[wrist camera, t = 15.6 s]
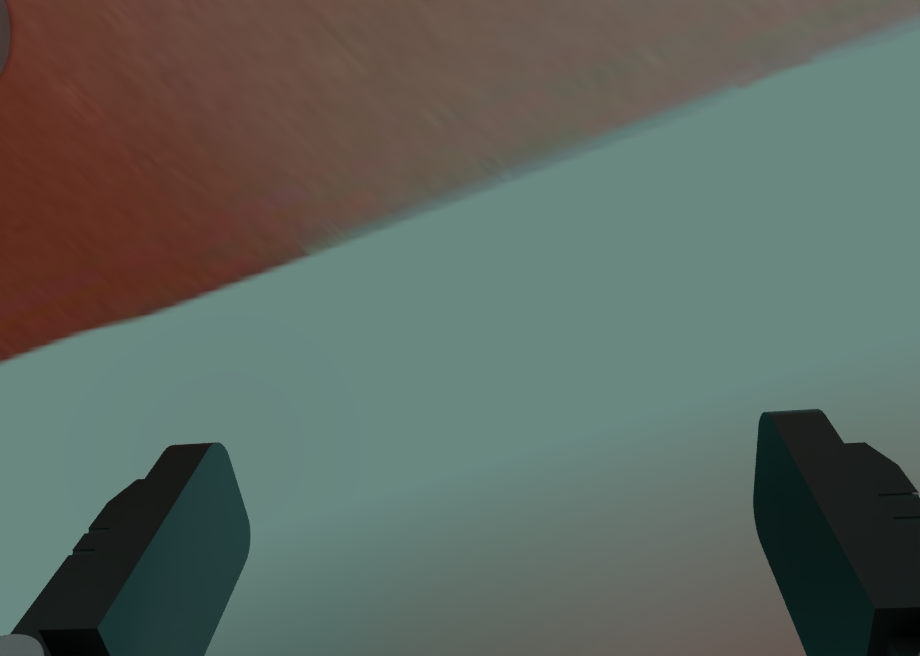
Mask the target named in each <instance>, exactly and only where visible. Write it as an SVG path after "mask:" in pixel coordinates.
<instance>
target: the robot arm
mask: <svg viewBox="0 0 920 656" xmlns="http://www.w3.org/2000/svg"><path fill="white" fill-rule="evenodd" d="M10 38H11V35H10V23H9V14H8V10H7V7H6V3H5V0H0V75H1V73H2V71H3V68H4V66H5V63H6V61H7V58H8V53H9V46H10ZM753 508H754V518H755V523H756V529H757V533H758V537H759V540H760V543H761V545H762V548H763V550H764V553H765V555H766V558H767V560H768V562H769V565H770V567H771V569H772V572H773V575H774V577H775V579H776V582H777V584H778V587H779V589H780V592H781V594H782V596H783V599H784V601H785V604H786V606H787V609H788V611H789V613H790V616H791V618H792V621H793V623H794V626H795V628H796V631H797V633H798V635H799V638H800V640H801V643H802V645H803V647H804V650H805V652H806V655H807V656H920V498H919V496H918V491H917V490H916V489H915V487H914V486H913V485H912V483H911V482H910V480H909V479H908V478H907V476H906V475H905V474H904V472H903V471H902V470H901V468H900V467H899V466H898V465H897V464H896V463H894V462H893V461H891V460H890V459H888V458H887V457H885V456H884V455H882V454H881V453H880V452H878V451H877V450H875V449H873V448H872V447H871V446H869V445H868V444H866V443H865V442H864V443H845V444H844V443H843V441H842V440H841V438H840V437H839V435H838V434H837V432H836V430H835V429H834V427H833V426H832V425H831V423H830V422H829V420H828V419H827V417H826V415H825V414H824V413H823V412H822V411H821V410H819V409H809V410H792V411H775V412H763V413H762V415H761V417H760V420H759V427H758V441H757V453H756V467H755V481H754V494H753ZM249 547H250V525H249V520H248V516H247V513H246V509H245V507H244V503H243V500H242V497H241V493H240V490H239V487H238V484H237V480H236V478H235V474H234V471H233V468H232V464H231V461H230V458H229V455H228V452H227V450H226V449H225V447H224V446H223V445H222V444H221V443H202V444H185V445H172V446H169V447H168V448H166V450H165V451H164V452H163V454H162V455H161V456H160V458H159V459H158V461H157V462H156V464H155V465H154V466H153V468H152V469H151V471H150V472H149V473H148V475H147V476H146V478H145V479H138V480H136V481H134V482H133V483H132V484H131V485H130V486H128V487H127V488H126V489H124V490H123V491H122V492H120V493H119V494H118V495H117V496H116V497H114V498H113V499H112V500H110V501H109V502H108V503H107V504H106V506H105V507H104V508H103V510H102V511H101V512H100V514H99V515H98V516H97V518H96V519H95V520H94V522H93V523H92V524H91V526H90V527H89V533H87V534H84V535H83V536H82V538H81V539H80V541H79V542H78V543H77V545H76V546H75V547H74V549H73V554H72V555H69V556H68V557H67V558H66V560H65V561H64V562H63V563H62V565H61V566H60V568H59V569H58V570H57V572H56V573H55V574H54V576H53V577H52V578H51V580H50V581H49V582H48V584H47V585H46V586H45V588H44V589H43V590H42V592H41V593H40V594H39V596H38V597H37V599H36V600H35V601H34V603H33V604H32V605H31V607H30V608H29V609H28V611H27V612H26V613H25V615H24V616H23V618H22V619H21V620H20V622H19V623H18V624H17V625H16V627H15V628H14V630H13V631H12V632H11V634H10V635H3V636H0V656H204V655H205V653H206V650H207V648H208V646H209V644H210V641H211V639H212V637H213V635H214V632H215V630H216V628H217V625H218V623H219V621H220V619H221V617H222V614H223V612H224V610H225V607H226V605H227V603H228V601H229V598H230V596H231V594H232V591H233V589H234V587H235V585H236V583H237V580H238V578H239V576H240V574H241V571H242V569H243V567H244V565H245V562H246V560H247V557H248V553H249Z"/></svg>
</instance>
